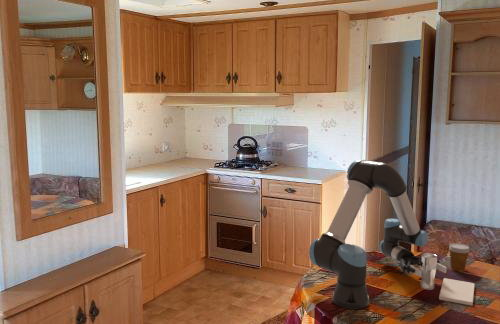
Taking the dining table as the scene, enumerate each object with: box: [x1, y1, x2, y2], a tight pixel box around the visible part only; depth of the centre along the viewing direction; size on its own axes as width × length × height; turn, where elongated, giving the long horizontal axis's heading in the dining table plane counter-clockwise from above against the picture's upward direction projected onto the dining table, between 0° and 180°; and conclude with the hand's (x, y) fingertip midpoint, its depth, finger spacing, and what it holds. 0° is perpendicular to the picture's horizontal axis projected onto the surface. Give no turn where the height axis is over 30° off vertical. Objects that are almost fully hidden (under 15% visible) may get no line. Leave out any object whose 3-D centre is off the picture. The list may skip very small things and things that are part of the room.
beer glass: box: [419, 252, 438, 291], centre depth 213 cm, size 7×7×15 cm
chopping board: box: [438, 277, 475, 306], centre depth 209 cm, size 22×13×2 cm, turn 153°
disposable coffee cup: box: [448, 242, 471, 272], centre depth 235 cm, size 10×10×12 cm
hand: (433, 271), depth 210 cm, fingers open, 13 cm apart
